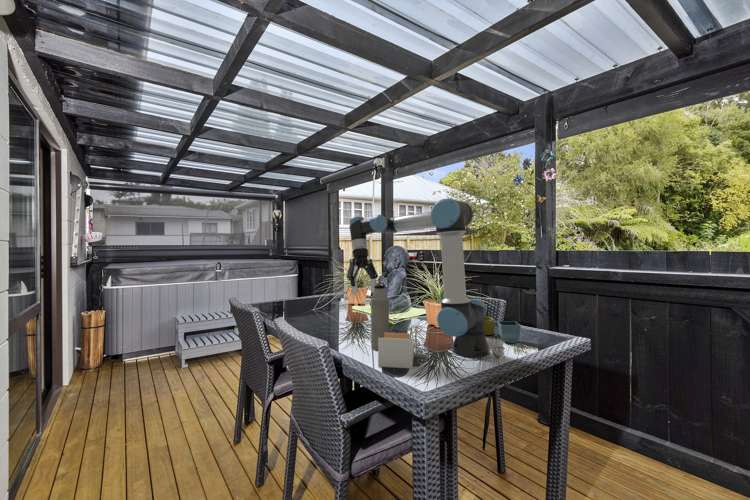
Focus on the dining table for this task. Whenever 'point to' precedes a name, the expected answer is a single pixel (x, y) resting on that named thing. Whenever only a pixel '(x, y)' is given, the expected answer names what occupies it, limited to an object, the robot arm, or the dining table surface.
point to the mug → (489, 326)
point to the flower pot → (509, 331)
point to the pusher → (397, 335)
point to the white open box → (395, 352)
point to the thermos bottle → (379, 315)
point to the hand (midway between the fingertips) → (364, 293)
